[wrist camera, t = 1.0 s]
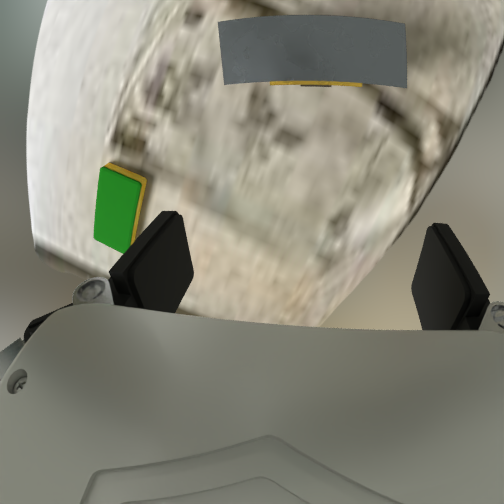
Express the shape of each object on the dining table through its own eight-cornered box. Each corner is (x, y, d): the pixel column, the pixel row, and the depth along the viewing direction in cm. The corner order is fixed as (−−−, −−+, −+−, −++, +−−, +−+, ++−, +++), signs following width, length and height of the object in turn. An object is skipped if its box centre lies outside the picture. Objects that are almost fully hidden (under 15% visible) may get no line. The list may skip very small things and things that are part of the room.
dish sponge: (100, 231, 47) (93, 238, 45) (109, 160, 39) (100, 166, 37) (134, 248, 48) (127, 256, 46) (149, 177, 40) (140, 184, 38)
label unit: (246, 33, 26) (210, 17, 16) (374, 34, 23) (410, 18, 13) (251, 82, 30) (218, 93, 19) (375, 84, 27) (413, 97, 17)
